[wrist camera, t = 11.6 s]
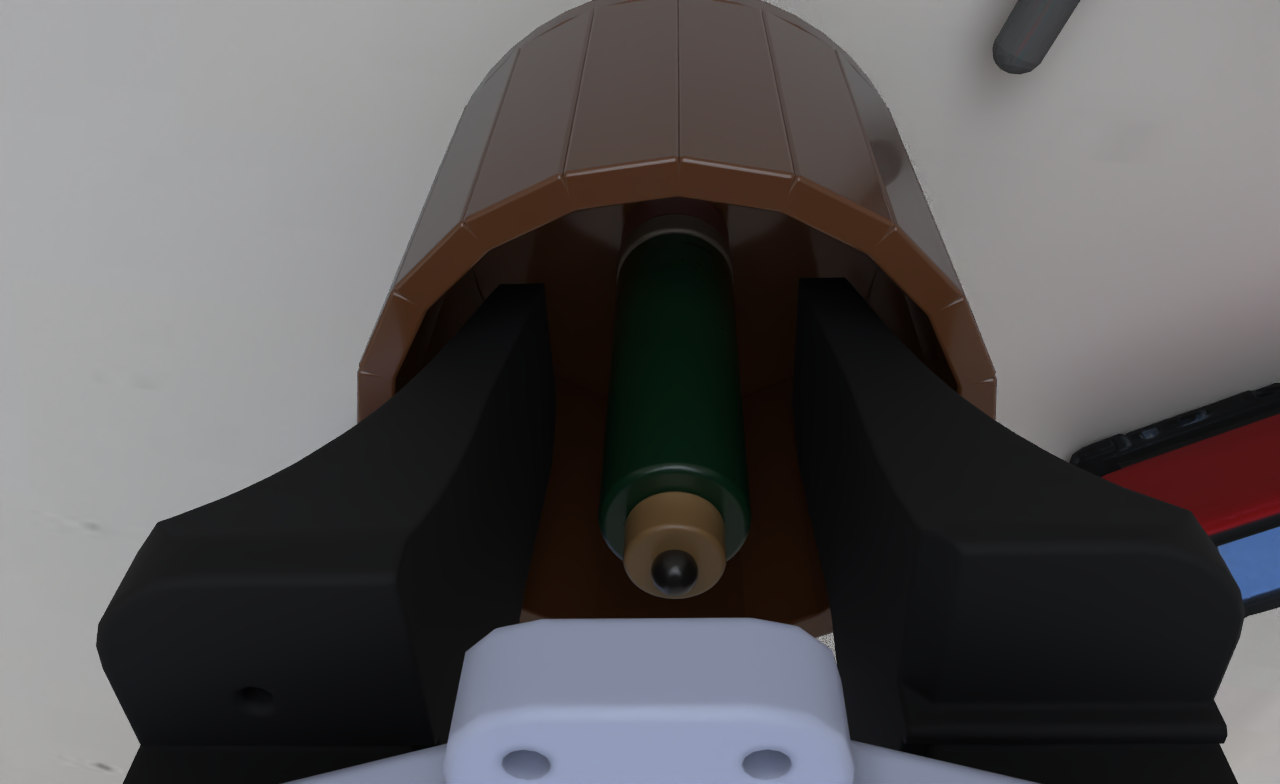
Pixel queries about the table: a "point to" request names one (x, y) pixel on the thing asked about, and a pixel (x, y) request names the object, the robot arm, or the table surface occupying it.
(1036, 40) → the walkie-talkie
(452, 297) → the pencil cup
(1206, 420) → the handheld console
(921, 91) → the table surface
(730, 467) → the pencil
